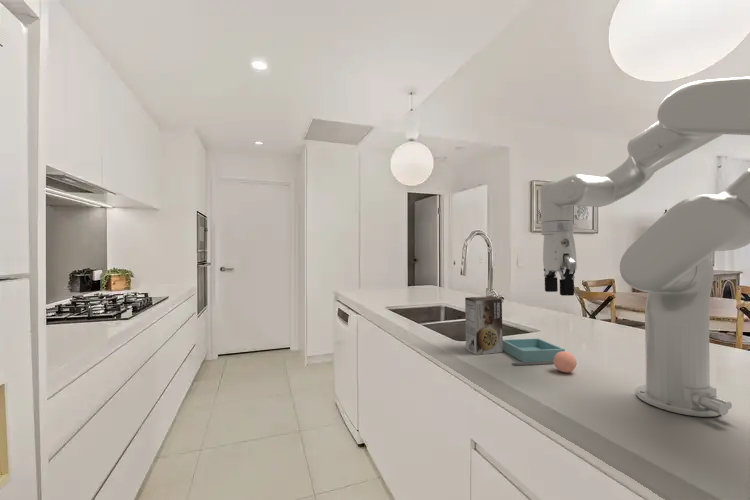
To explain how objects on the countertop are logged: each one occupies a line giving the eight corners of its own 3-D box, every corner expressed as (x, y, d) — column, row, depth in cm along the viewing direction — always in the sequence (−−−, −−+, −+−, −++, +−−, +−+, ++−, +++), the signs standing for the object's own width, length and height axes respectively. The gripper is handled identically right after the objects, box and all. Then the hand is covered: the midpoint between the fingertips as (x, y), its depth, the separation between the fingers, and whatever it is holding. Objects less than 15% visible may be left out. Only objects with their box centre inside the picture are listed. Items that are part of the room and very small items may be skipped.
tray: (564, 360, 94) (564, 349, 94) (523, 362, 93) (523, 351, 93) (538, 348, 106) (538, 338, 106) (501, 349, 105) (501, 339, 105)
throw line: (571, 363, 91) (571, 362, 91) (514, 366, 90) (514, 364, 90) (567, 361, 93) (567, 360, 93) (511, 364, 91) (511, 363, 91)
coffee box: (490, 347, 108) (490, 295, 108) (503, 352, 102) (503, 298, 102) (464, 349, 105) (464, 296, 106) (476, 355, 99) (475, 299, 99)
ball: (581, 374, 83) (581, 354, 83) (562, 375, 82) (561, 355, 82) (567, 368, 88) (567, 348, 88) (549, 368, 87) (549, 349, 87)
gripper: (588, 225, 82) (590, 297, 82) (558, 231, 99) (559, 290, 99) (555, 226, 83) (557, 297, 82) (531, 231, 100) (532, 290, 100)
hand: (558, 293), depth 91 cm, fingers open, 9 cm apart
